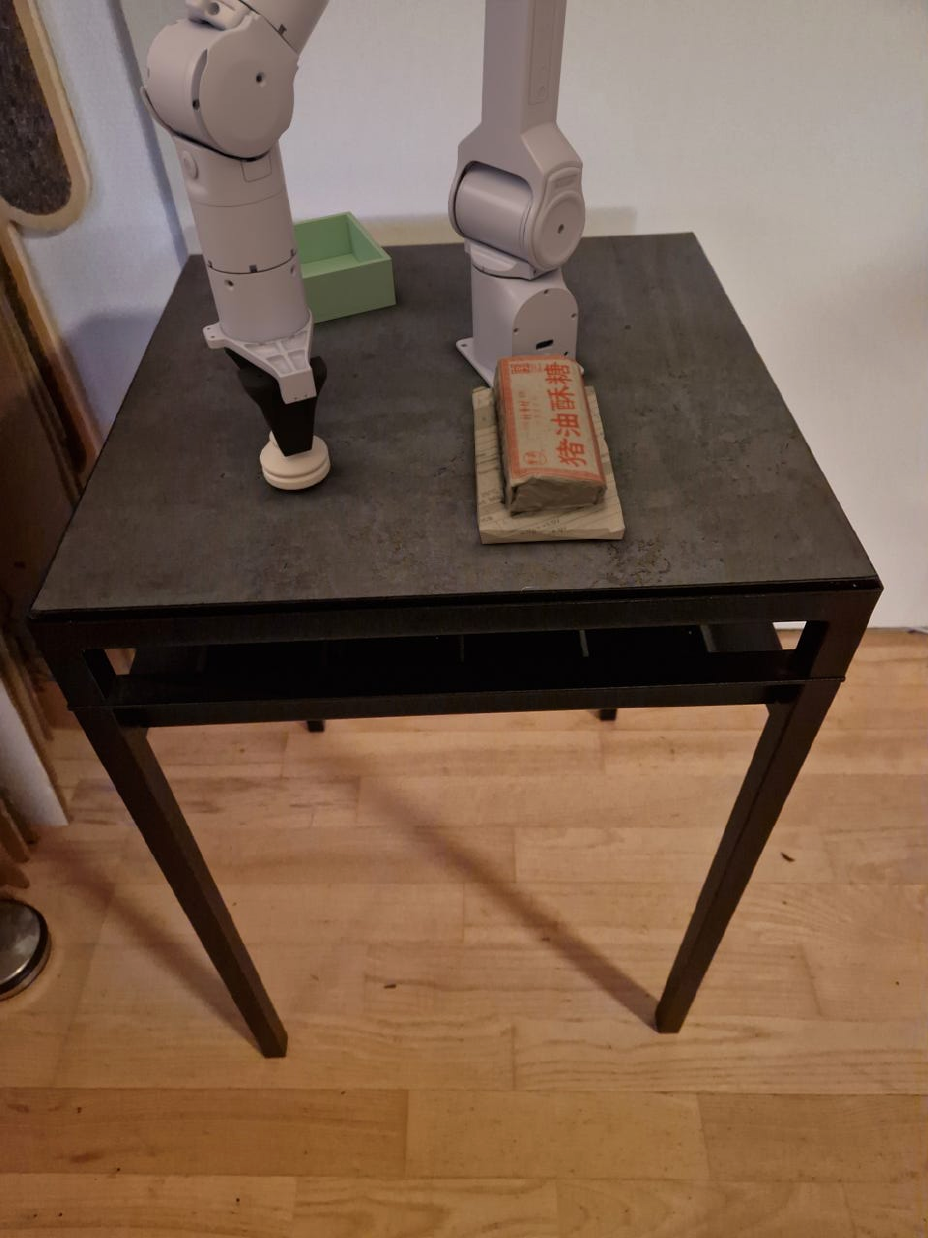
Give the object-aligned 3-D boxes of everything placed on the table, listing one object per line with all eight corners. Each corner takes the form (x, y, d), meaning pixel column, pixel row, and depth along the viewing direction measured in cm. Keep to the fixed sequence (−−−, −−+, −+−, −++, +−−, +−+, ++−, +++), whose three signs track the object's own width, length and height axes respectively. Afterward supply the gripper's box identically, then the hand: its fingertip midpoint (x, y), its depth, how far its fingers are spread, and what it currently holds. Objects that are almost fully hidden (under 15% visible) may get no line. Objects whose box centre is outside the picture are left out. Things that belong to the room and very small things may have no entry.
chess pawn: (254, 488, 66) (226, 380, 59) (275, 448, 69) (251, 341, 62) (320, 493, 65) (299, 384, 58) (338, 452, 68) (320, 345, 62)
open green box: (395, 304, 85) (391, 258, 82) (272, 333, 82) (262, 286, 79) (355, 254, 93) (349, 210, 90) (240, 279, 90) (230, 234, 87)
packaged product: (470, 349, 70) (597, 344, 70) (471, 402, 73) (592, 398, 73) (477, 492, 57) (632, 486, 57) (478, 549, 61) (624, 543, 61)
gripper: (164, 222, 59) (214, 401, 68) (212, 319, 49) (261, 510, 59) (268, 201, 60) (302, 379, 70) (334, 291, 51) (362, 481, 61)
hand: (290, 437), depth 65 cm, fingers closed on chess pawn, 3 cm apart
